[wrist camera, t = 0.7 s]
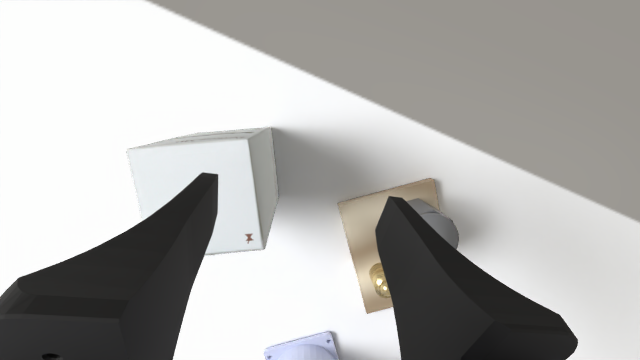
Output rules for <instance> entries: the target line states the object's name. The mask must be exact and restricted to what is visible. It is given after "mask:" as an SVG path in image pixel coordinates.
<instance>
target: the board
mask: <svg viewBox="0 0 640 360" xmlns="http://www.w3.org/2000/svg"><path fill="white" fill-rule="evenodd" d="M389 196H393V197H401V198H403V199H404V200H405V201H409V200H413V199H416V198H419V199H421V200H423V201H424V202H426V203H428V204H430V205H431V206H433V207H435V208H436V209H438V210H439V204H438V199H437V193H436V188H435V182H434V180H433V179H431V178H428V179H425V180H421V181H417V182H414V183H410V184H406V185H403V186H399V187H395V188H392V189H388V190H384V191H381V192H377V193H373V194H370V195H366V196H362V197H359V198H355V199H351V200H348V201H344V202H340V203H338V207H339V211H340V215H341V218H342V222H343V226H344V230H345V234H346V237H347V241H348V245H349V249H350V253H351V256H352V260H353V264H354V268H355V272H356V275H357V279H358V283H359V287H360V291H361V294H362V298H363V302H364V306H365V309H366V312H367V314H368V313H372V312H376V311H379V310H383V309H387V308H390V307H393V303H392V299H391V297H390V298H382V297H380V296H379V295H378V294H377V293H376V291H375V288H374V286H373V283H372V281H371V279H370V276H369V271H370V269H371V267H372V266H373V265H374V264H376V263H381V261H380V257H379V253H378V249H377V242H376V234H375V229H376V226H377V224H378V221H379V219H380V216H381V214H382V211H383V209H384V207H385V204H386V202H387V199H388V197H389ZM439 211H440V210H439Z"/></svg>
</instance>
